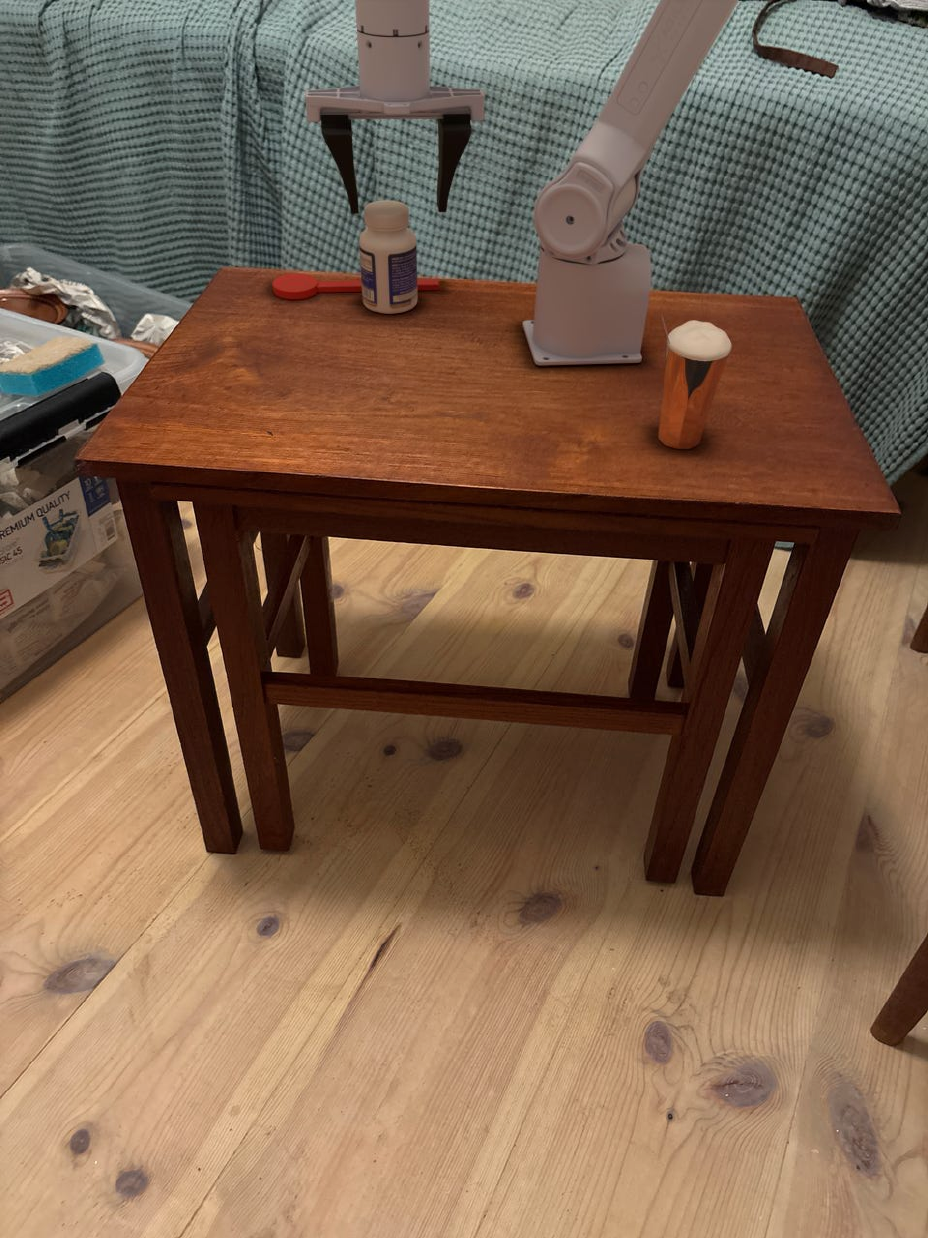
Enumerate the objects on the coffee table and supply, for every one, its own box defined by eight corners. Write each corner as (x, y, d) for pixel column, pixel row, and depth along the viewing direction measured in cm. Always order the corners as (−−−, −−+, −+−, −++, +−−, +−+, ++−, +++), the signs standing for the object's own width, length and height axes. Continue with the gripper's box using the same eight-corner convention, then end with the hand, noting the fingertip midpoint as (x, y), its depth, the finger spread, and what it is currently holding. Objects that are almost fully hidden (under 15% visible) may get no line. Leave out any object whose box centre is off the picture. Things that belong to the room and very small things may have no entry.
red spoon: (436, 278, 93) (436, 270, 93) (440, 296, 90) (440, 288, 89) (274, 281, 92) (273, 273, 91) (272, 300, 88) (271, 291, 88)
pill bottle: (421, 293, 90) (420, 199, 84) (413, 317, 86) (411, 220, 80) (368, 289, 91) (363, 195, 85) (357, 312, 87) (351, 215, 81)
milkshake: (633, 423, 73) (654, 302, 67) (699, 422, 74) (727, 302, 67) (646, 455, 70) (669, 331, 63) (714, 454, 71) (745, 330, 64)
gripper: (298, 40, 69) (314, 226, 78) (491, 40, 70) (485, 223, 79) (300, 20, 74) (316, 197, 83) (480, 21, 75) (476, 195, 84)
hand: (398, 208), depth 81 cm, fingers open, 7 cm apart
